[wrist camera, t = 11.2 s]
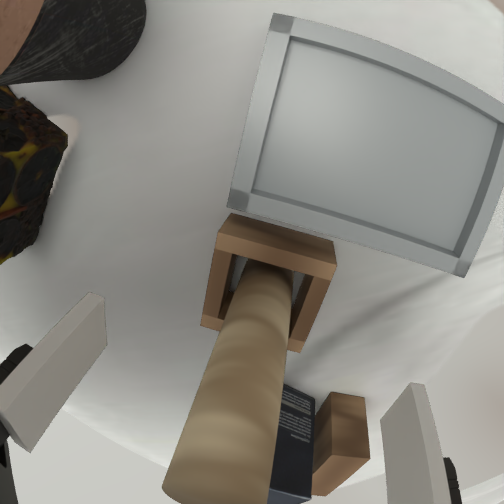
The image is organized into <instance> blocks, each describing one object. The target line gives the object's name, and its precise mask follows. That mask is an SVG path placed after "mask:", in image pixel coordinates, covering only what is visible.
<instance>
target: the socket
mask: <svg viewBox="0 0 504 504" xmlns="http://www.w3.org/2000/svg"><path fill="white" fill-rule="evenodd" d="M237 255H240V256H243V257H247V258H251V259H254V260H258V261H261V262H265V263H269V264H272V265H276V266H279V267H283V268H287V269H290V270H294V271H297V272H301V273H305V275H304V278H303V281H302V284H301V286H300V289H299V292H298V295H297V297H296V300H295V303H294V306H293V308H291V314H290V324H289V335H288V345H287V350H290V351H294V352H298V353H300V352H301V350H302V348H303V345H304V343H305V341H306V339H307V336H308V334H309V332H310V330H311V327H312V325H313V323H314V321H315V318H316V316H317V314H318V311H319V309H320V306H321V304H322V302H323V299H324V297H325V294H326V292H327V290H328V287H329V285H330V282H331V280H332V277H333V275H334V272H335V270H336V267H337V262H336V256H335V251H334V246H333V241H330V240H326V239H323V238H319V237H316V236H312V235H309V234H305V233H302V232H298V231H295V230H291V229H288V228H284V227H281V226H277V225H273V224H270V223H266V222H262V221H259V220H255V219H251V218H248V217H244V216H240V215H237V214H233V213H231V214H230V215H229V217H228V218H227V219H226V221H225V222H224V224H223V225H222V227H221V228H220V230H219V231H218V234H217V239H216V244H215V249H214V254H213V259H212V264H211V270H210V275H209V280H208V285H207V291H206V296H205V302H204V307H203V313H202V319H201V324H200V326H203V327H206V328H210V329H213V330H216V331H220V330H221V327H222V325H223V322H224V319H225V317H226V314H227V311H228V309H229V306H230V303H231V301H232V298H233V295H234V293H235V292H232V291H229V288H230V284H231V280H232V275H233V271H234V267H235V262H236V258H237Z"/></svg>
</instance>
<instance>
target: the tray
mask: <svg viewBox="0 0 504 504" xmlns="http://www.w3.org/2000/svg"><path fill="white" fill-rule="evenodd" d="M503 186H504V104H503V103H501V102H499V101H498V100H496V99H495V98H493V97H492V96H490V95H488V94H487V93H485V92H483V91H482V90H480V89H478V88H477V87H475V86H473V85H472V84H470V83H468V82H466V81H464V80H463V79H461V78H459V77H457V76H455V75H453V74H451V73H449V72H447V71H446V70H444V69H442V68H440V67H437V66H435V65H433V64H431V63H429V62H427V61H425V60H423V59H420V58H418V57H416V56H414V55H411V54H409V53H407V52H404V51H402V50H399V49H397V48H394V47H392V46H389V45H387V44H384V43H381V42H379V41H376V40H373V39H370V38H368V37H365V36H362V35H359V34H356V33H352V32H349V31H346V30H343V29H339V28H336V27H332V26H329V25H325V24H321V23H318V22H314V21H310V20H305V19H301V18H297V17H292V16H287V15H282V14H277V13H273V16H272V19H271V23H270V27H269V31H268V34H267V38H266V42H265V46H264V50H263V53H262V57H261V61H260V65H259V69H258V73H257V77H256V81H255V85H254V89H253V93H252V97H251V101H250V106H249V110H248V114H247V118H246V122H245V127H244V131H243V135H242V139H241V144H240V148H239V152H238V157H237V161H236V166H235V170H234V175H233V179H232V184H231V188H230V193H229V198H228V202H227V207H229V208H232V209H236V210H240V211H244V212H247V213H251V214H255V215H259V216H262V217H266V218H269V219H273V220H277V221H280V222H284V223H287V224H291V225H295V226H298V227H302V228H305V229H309V230H312V231H315V232H319V233H322V234H326V235H329V236H333V237H336V238H339V239H343V240H346V241H349V242H353V243H356V244H359V245H363V246H366V247H369V248H372V249H376V250H379V251H382V252H385V253H389V254H392V255H395V256H398V257H401V258H404V259H408V260H411V261H414V262H417V263H420V264H423V265H426V266H429V267H432V268H435V269H438V270H441V271H444V272H447V273H450V274H453V275H456V276H459V277H462V278H465V276H466V274H467V272H468V270H469V268H470V266H471V264H472V261H473V259H474V257H475V255H476V253H477V251H478V249H479V246H480V244H481V242H482V240H483V237H484V235H485V233H486V231H487V228H488V226H489V223H490V221H491V218H492V216H493V213H494V211H495V208H496V206H497V203H498V200H499V197H500V195H501V192H502V189H503Z"/></svg>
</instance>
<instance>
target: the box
mask: <svg viewBox="0 0 504 504" xmlns="http://www.w3.org/2000/svg"><path fill="white" fill-rule="evenodd" d="M314 425H315V400H314V399H313V398H311V397H309V396H307V395H305V394H303V393H301V392H299V391H296V390H294V389H292V388H290V387H288V386H286V385H284V384H283V390H282V399H281V407H280V415H279V423H278V430H277V438H276V445H275V452H274V459H273V466H272V473H271V479H270V486H269V492H268V499H267V504H301V503H303V502H306V501H309V500H310V499H311V491H312V474H313V453H314Z"/></svg>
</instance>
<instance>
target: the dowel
mask: <svg viewBox="0 0 504 504" xmlns="http://www.w3.org/2000/svg"><path fill="white" fill-rule="evenodd" d="M293 279H294V270H290V269H287V268H283V267H279V266H276V265H272V264H269V263H265V262H261V261H258V260H254V259H251V258H248V260H247V261H246V264H245V266H244V269H243V272H242V274H241V277H240V280H239V282H238V285H237V288H236V290H235V293H234V295H233V298H232V301H231V303H230V306H229V309H228V311H227V314H226V317H225V319H224V322H223V325H222V327H221V330H220V333H219V335H218V338H217V341H216V343H215V346H214V348H213V351H212V354H211V356H210V359H209V362H208V364H207V367H206V370H205V372H204V375H203V378H202V380H201V383H200V386H199V388H198V391H197V394H196V396H195V399H194V402H193V404H192V407H191V410H190V412H189V415H188V418H187V420H186V423H185V426H184V428H183V431H182V434H181V436H180V439H179V442H178V444H177V447H176V450H175V452H174V455H173V458H172V460H171V463H170V466H169V468H168V471H167V474H166V476H165V479H164V482H163V484H162V489H163V491H164V492H165V493H166V494H167V495H168V496H169V497H170V498H172V499H174V500H175V501H177V502H179V503H181V504H267V499H268V492H269V486H270V479H271V473H272V466H273V459H274V452H275V445H276V438H277V430H278V423H279V415H280V407H281V399H282V390H283V382H284V373H285V364H286V354H287V345H288V335H289V324H290V314H291V303H292V291H293Z"/></svg>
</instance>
